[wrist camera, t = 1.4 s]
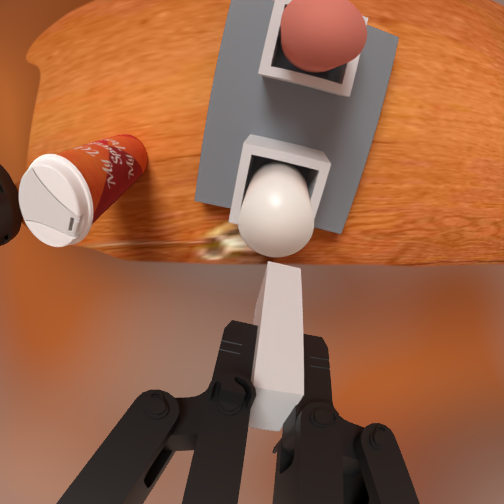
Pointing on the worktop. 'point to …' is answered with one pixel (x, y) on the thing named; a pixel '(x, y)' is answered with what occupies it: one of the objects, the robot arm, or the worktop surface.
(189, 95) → the worktop surface
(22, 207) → the coffee cup
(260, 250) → the plug
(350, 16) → the red plug
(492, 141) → the worktop surface
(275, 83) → the board
